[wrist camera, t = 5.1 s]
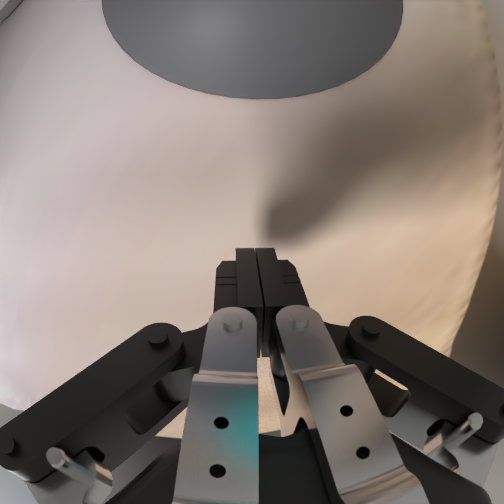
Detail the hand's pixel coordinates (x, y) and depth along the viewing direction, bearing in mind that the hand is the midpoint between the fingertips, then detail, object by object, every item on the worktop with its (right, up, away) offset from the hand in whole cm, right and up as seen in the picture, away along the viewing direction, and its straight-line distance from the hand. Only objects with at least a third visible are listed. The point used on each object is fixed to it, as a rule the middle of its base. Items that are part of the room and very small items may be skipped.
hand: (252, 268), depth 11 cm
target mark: (0, +12, -5) cm, 13 cm away
